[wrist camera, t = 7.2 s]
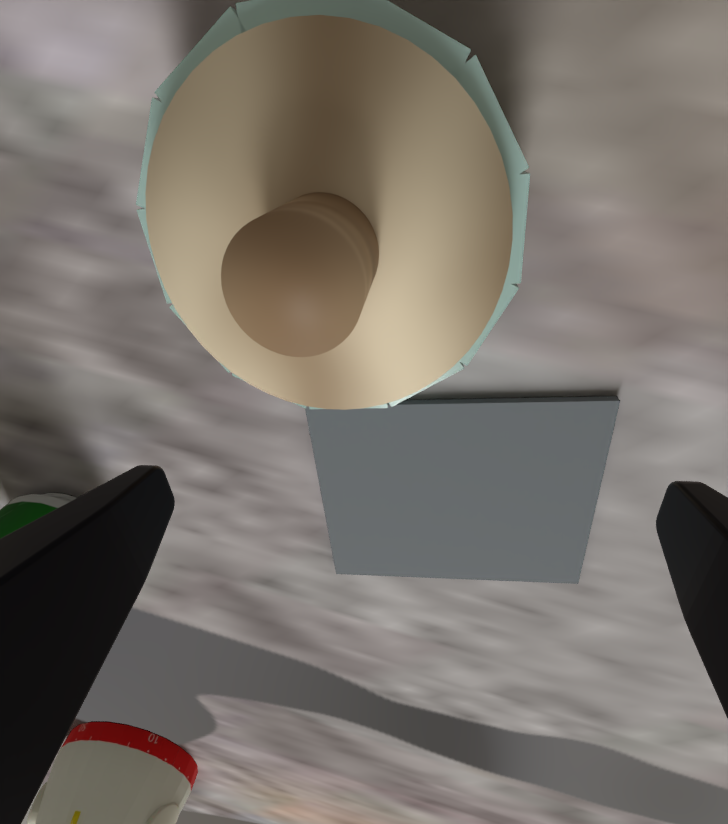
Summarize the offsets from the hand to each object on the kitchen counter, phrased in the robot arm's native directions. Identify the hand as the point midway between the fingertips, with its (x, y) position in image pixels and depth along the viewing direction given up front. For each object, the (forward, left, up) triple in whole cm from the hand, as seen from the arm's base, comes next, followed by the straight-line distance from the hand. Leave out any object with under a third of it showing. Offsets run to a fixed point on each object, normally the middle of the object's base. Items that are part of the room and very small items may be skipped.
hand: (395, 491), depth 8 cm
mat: (-2, +11, -12) cm, 17 cm away
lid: (+2, -3, -8) cm, 9 cm away
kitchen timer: (+31, +48, -13) cm, 59 cm away
